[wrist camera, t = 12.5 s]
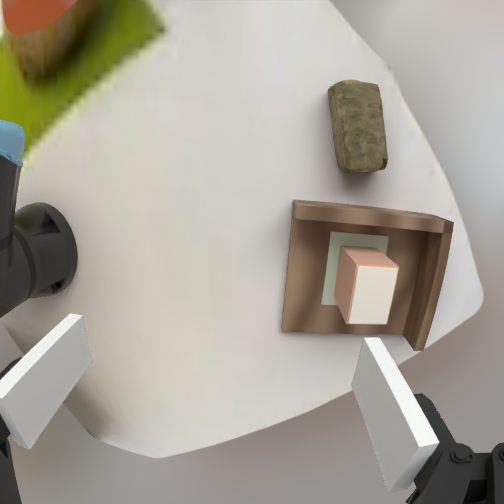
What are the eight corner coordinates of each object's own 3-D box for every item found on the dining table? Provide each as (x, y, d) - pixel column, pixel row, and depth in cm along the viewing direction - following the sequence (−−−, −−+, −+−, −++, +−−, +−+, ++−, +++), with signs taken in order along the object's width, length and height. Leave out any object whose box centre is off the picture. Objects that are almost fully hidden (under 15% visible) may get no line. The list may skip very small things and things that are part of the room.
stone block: (336, 173, 38) (345, 174, 34) (324, 87, 35) (331, 76, 31) (378, 170, 38) (392, 171, 33) (366, 86, 35) (378, 76, 30)
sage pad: (321, 303, 42) (321, 304, 42) (330, 231, 39) (330, 231, 39) (375, 306, 41) (376, 306, 41) (388, 236, 39) (388, 236, 39)
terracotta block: (340, 245, 39) (357, 264, 31) (376, 247, 39) (399, 267, 31) (333, 296, 41) (346, 325, 33) (368, 297, 41) (387, 325, 33)
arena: (281, 327, 44) (282, 350, 38) (293, 199, 39) (296, 205, 34) (408, 330, 43) (423, 350, 37) (432, 214, 38) (453, 222, 33)
